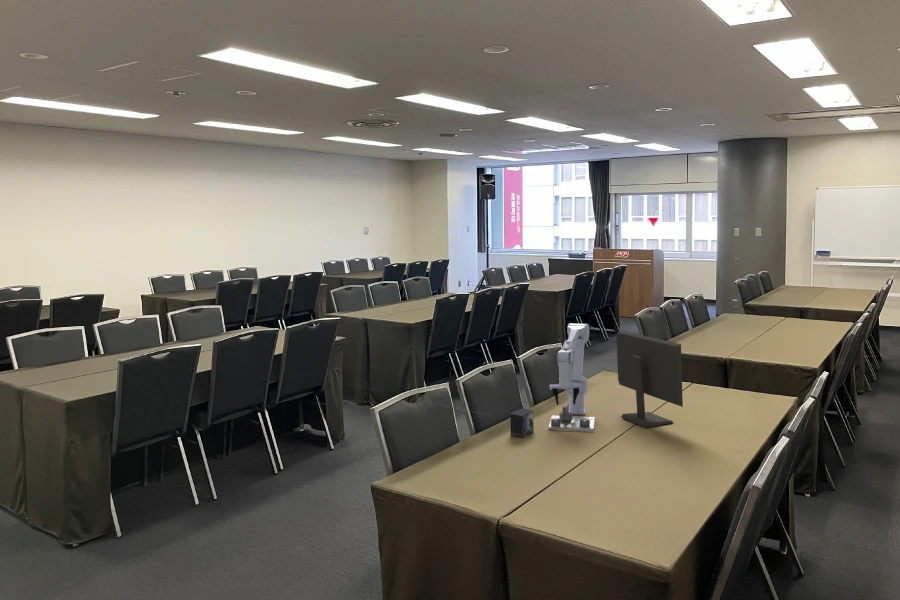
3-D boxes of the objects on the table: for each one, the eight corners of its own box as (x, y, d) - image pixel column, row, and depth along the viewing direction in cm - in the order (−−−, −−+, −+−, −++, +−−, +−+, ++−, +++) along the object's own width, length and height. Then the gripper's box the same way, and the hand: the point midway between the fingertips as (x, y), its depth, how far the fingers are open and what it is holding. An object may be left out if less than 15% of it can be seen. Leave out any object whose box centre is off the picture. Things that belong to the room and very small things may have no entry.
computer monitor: (693, 431, 298) (694, 342, 293) (663, 436, 292) (664, 346, 288) (632, 407, 338) (632, 328, 334) (605, 411, 333) (605, 331, 328)
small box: (522, 438, 295) (522, 415, 294) (509, 436, 299) (509, 413, 298) (534, 432, 304) (534, 409, 302) (522, 430, 308) (521, 407, 306)
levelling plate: (552, 418, 324) (552, 410, 323) (594, 420, 319) (594, 412, 319) (548, 429, 307) (548, 421, 306) (593, 431, 302) (593, 423, 301)
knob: (558, 421, 313) (557, 406, 312) (562, 414, 324) (562, 399, 323) (571, 422, 311) (570, 407, 310) (575, 414, 322) (575, 400, 321)
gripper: (550, 378, 309) (550, 406, 311) (582, 377, 308) (582, 406, 310) (549, 374, 316) (549, 402, 318) (580, 374, 315) (580, 402, 317)
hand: (565, 404), depth 314 cm, fingers open, 7 cm apart
